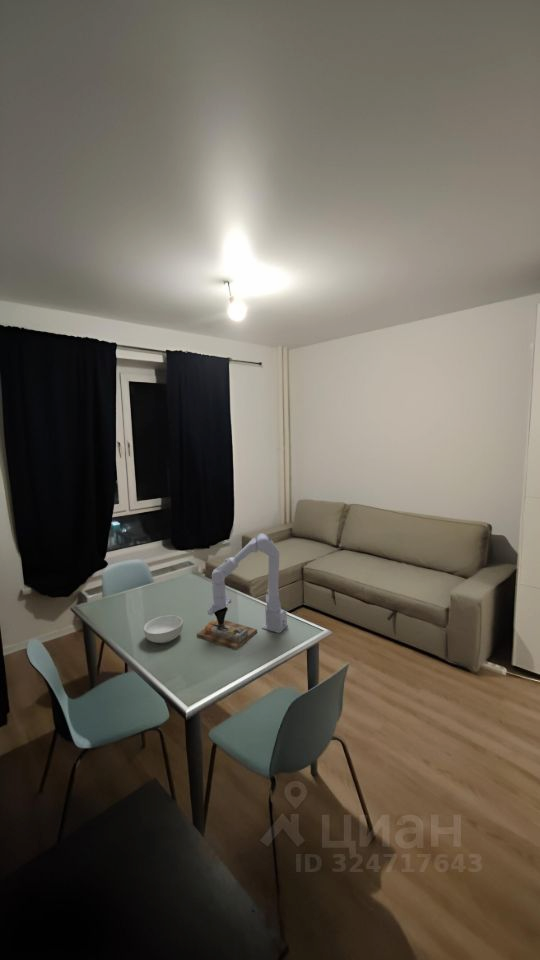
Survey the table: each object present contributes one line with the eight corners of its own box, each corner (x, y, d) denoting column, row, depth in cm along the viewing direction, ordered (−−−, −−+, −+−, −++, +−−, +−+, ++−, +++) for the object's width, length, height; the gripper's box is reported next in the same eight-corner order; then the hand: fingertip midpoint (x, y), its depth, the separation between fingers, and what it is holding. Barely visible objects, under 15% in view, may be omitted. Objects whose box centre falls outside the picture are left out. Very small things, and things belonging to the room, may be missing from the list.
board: (257, 632, 174) (256, 629, 174) (235, 649, 161) (235, 646, 160) (219, 621, 186) (219, 618, 186) (196, 636, 172) (196, 633, 172)
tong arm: (243, 636, 168) (243, 629, 168) (240, 638, 166) (240, 632, 166) (212, 626, 178) (212, 620, 177) (208, 629, 176) (208, 622, 175)
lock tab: (236, 630, 167) (236, 628, 166) (231, 634, 164) (231, 632, 163) (231, 628, 168) (231, 626, 168) (226, 632, 165) (225, 630, 165)
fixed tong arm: (248, 635, 169) (247, 629, 168) (238, 643, 163) (238, 636, 162) (215, 625, 178) (215, 619, 178) (205, 632, 173) (205, 626, 172)
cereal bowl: (169, 625, 184) (168, 611, 183) (191, 636, 173) (190, 621, 172) (137, 640, 171) (136, 625, 170) (159, 653, 160) (158, 637, 159)
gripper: (222, 587, 182) (224, 614, 184) (201, 599, 170) (203, 628, 171) (234, 590, 178) (235, 618, 180) (214, 602, 166) (215, 632, 168)
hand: (221, 623), depth 175 cm, fingers closed
